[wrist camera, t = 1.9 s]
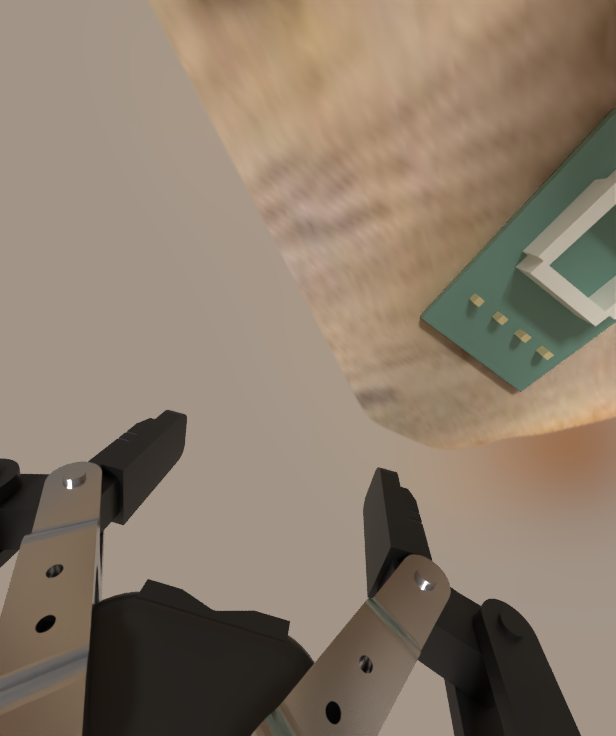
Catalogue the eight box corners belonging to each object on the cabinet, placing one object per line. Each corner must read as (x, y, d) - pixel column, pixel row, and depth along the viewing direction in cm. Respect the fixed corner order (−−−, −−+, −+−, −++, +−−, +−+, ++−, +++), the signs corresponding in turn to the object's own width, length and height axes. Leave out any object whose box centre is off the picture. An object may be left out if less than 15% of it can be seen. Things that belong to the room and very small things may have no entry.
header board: (612, 109, 23) (656, 92, 19) (734, 224, 24) (793, 227, 21) (420, 315, 32) (426, 328, 29) (516, 387, 34) (532, 407, 31)
